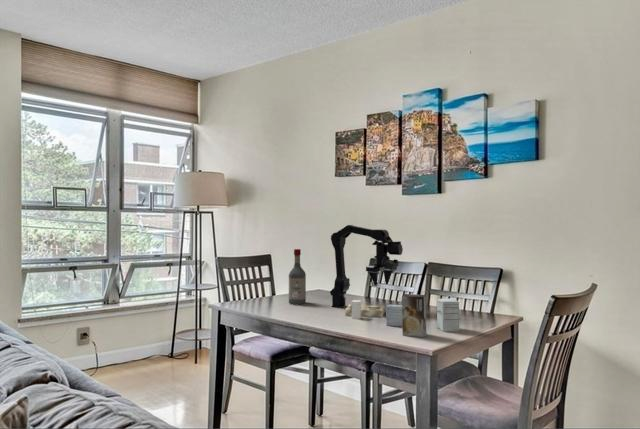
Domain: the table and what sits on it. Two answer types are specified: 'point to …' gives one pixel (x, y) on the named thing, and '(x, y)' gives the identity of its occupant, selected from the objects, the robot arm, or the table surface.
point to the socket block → (367, 311)
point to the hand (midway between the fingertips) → (381, 284)
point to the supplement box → (448, 315)
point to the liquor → (297, 281)
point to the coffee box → (414, 315)
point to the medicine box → (394, 315)
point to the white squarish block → (356, 309)
